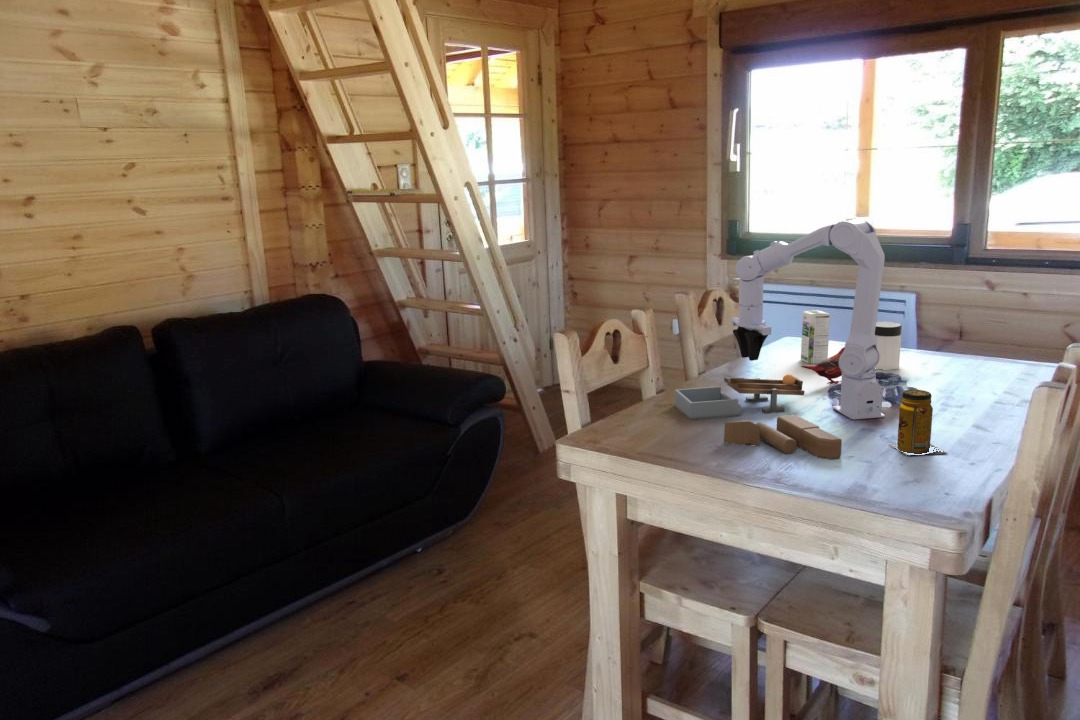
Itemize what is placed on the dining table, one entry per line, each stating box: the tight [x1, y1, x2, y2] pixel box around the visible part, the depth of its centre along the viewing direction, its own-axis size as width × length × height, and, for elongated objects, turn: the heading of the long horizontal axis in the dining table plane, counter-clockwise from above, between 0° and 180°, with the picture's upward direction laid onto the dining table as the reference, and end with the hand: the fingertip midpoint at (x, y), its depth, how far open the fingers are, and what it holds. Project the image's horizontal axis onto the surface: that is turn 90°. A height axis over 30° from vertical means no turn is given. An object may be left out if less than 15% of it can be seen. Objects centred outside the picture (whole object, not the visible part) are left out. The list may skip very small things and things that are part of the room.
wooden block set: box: [723, 414, 843, 460], centre depth 171 cm, size 17×6×18 cm
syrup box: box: [800, 309, 831, 365], centre depth 240 cm, size 6×6×14 cm
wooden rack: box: [723, 376, 806, 396], centre depth 201 cm, size 16×12×3 cm
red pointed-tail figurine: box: [800, 346, 845, 385], centre depth 215 cm, size 3×18×10 cm, turn 112°
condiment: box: [889, 389, 948, 457], centre depth 167 cm, size 7×8×12 cm
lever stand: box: [745, 377, 786, 415], centre depth 200 cm, size 5×11×6 cm, turn 8°
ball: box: [781, 373, 796, 385], centre depth 200 cm, size 3×3×3 cm
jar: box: [874, 321, 903, 371], centre depth 231 cm, size 9×8×12 cm
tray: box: [674, 385, 741, 421], centre depth 198 cm, size 12×12×4 cm
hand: (749, 358), depth 208 cm, fingers open, 3 cm apart
